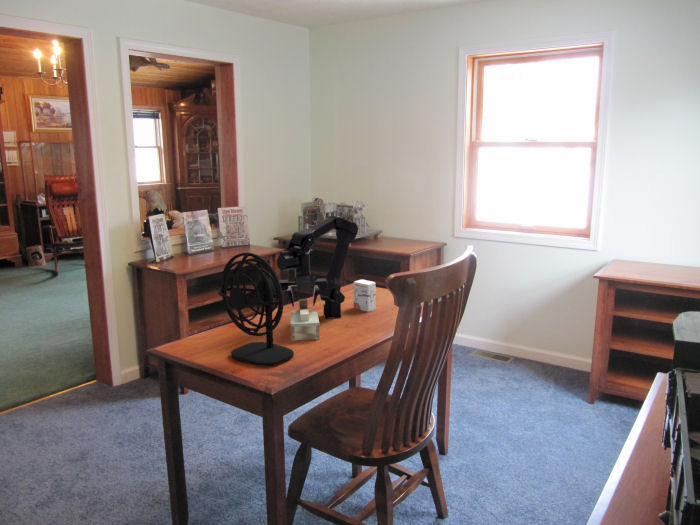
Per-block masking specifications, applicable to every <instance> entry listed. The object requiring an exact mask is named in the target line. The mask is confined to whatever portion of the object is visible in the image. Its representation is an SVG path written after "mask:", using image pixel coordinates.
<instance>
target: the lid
mask: <svg viewBox="0 0 700 525" xmlns="http://www.w3.org/2000/svg"><path fill="white" fill-rule="evenodd" d="M297 326H319V327H320V320H319V315H318V311H310V312H309V311H308V309H305V310H300V312H299V313H297V312H290V328H291V327H297Z"/></svg>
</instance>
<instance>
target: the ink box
mask: <svg viewBox="0 0 700 525" xmlns="http://www.w3.org/2000/svg"><path fill="white" fill-rule="evenodd" d="M376 287H377V286H376V282H375V281H371V280H366V279H359V280H355V281H353V309H354V310H359V311H364V312H368V313H369V312H372V311H375V310H376V291H377V290H376V289H377V288H376Z"/></svg>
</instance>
